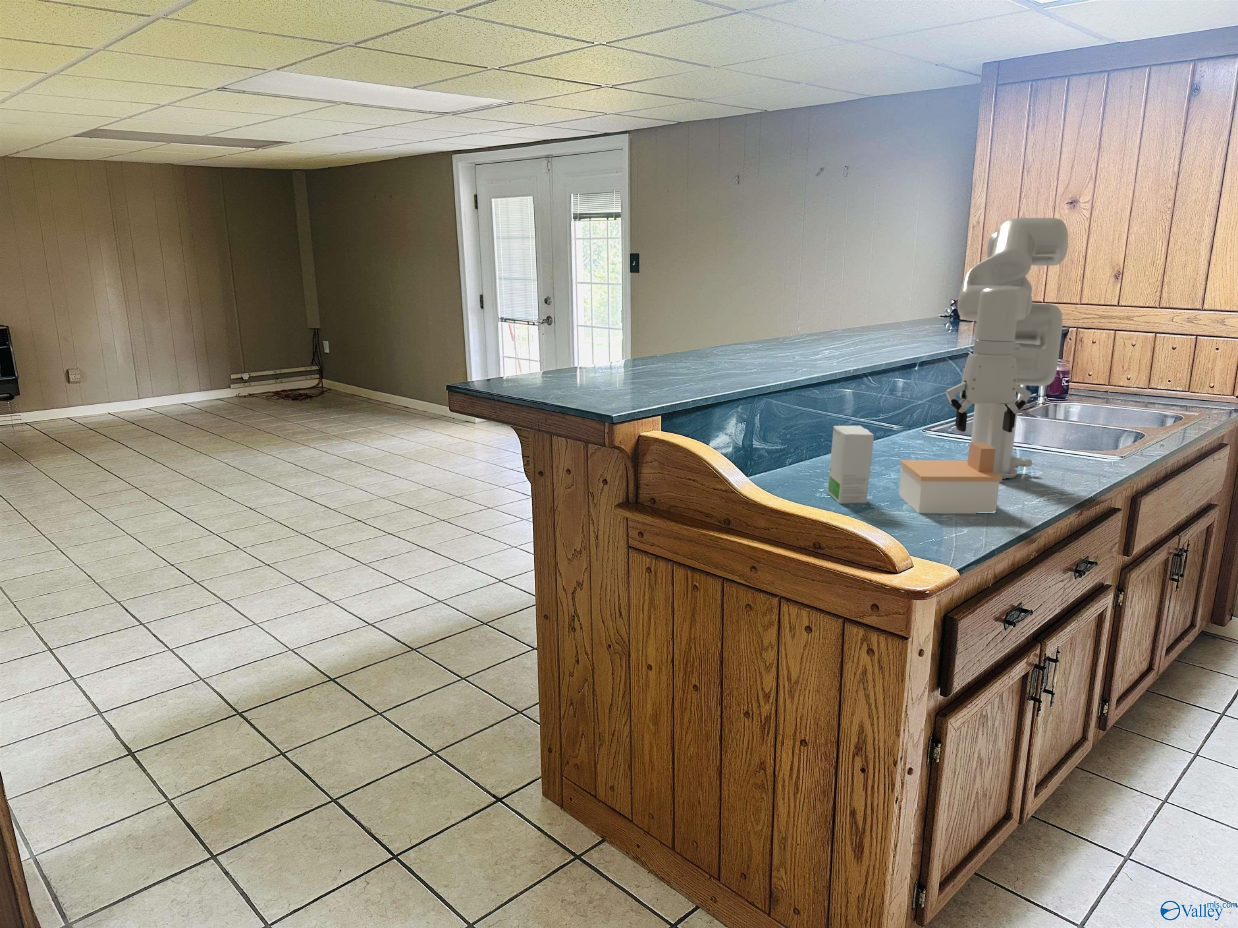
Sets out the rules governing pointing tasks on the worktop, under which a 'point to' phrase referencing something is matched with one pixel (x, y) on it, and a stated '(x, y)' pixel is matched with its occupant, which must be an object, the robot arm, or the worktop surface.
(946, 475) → the lid
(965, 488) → the tub
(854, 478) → the skincare box
